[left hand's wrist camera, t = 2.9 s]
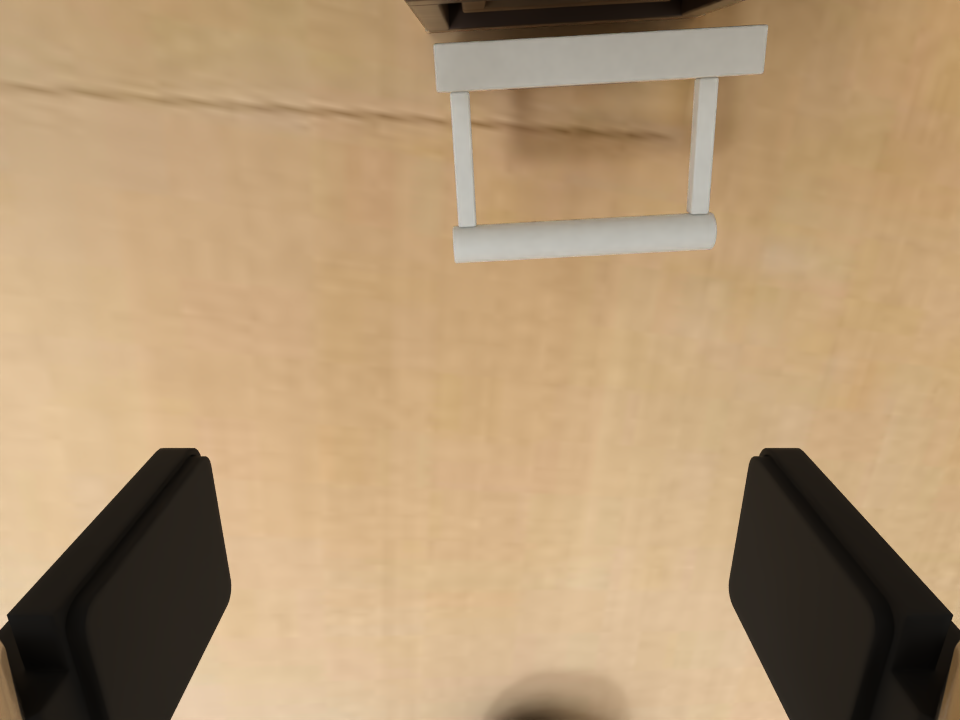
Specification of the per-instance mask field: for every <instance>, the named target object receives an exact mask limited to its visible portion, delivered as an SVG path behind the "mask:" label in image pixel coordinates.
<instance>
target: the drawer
mask: <svg viewBox="0 0 960 720" xmlns="http://www.w3.org/2000/svg"><path fill="white" fill-rule="evenodd" d="M659 1H669V0H496V1H479V2H462V10H463V12H464V13H471V12H488V11H505V10H522V9H539V8H556V7H573V6H590V5H608V4H625V3H642V2H659ZM767 32H768V25H766V24H765V25H747V26H730V27H713V28H696V29H678V30H661V31H644V32H627V33H609V34H592V35H575V36H558V37H540V38H523V39H506V40H489V41H471V42H454V43H437V44H434V45H433V49H434V63H435V77H436V90H437V92H441V93H450V103H451V118H452V134H453V149H454V164H455V180H456V195H457V211H458V225H459V226H454V227H453V247H454V259H455V263H469V262H488V261H506V260H525V259H543V258H561V257H580V256H598V255H617V254H635V253H654V252H672V251H690V250H709V249H712V248H713V247H714V245H715V241H716V236H717V224H716V219H715V216H714V214H713V213H711V212H709V202H710V189H711V176H712V162H713V149H714V136H715V122H716V109H717V95H718V82H719V79H718V77H725V76H739V75H754V74H762V73H763V72H764V63H765V53H766V43H767ZM695 78H696V79H695ZM680 79H695V84H694V100H693V116H692V132H691V148H690V164H689V180H688V196H687V212H688V213H685V214H667V215H649V216H631V217H612V218H594V219H576V220H558V221H539V222H521V223H503V224H485V225H476V205H475V187H474V168H473V150H472V132H471V114H470V95H469V92H470V91H487V90H505V89H508V90H509V89H526V88H544V87H561V86H579V85H596V84H614V83H631V82H645V81H662V80H680Z"/></svg>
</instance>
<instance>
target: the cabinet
mask: <svg viewBox="0 0 960 720" xmlns="http://www.w3.org/2000/svg"><path fill="white" fill-rule="evenodd" d="M479 1H496V0H405V2H406V3H407V5H408V6H409V7H410V9H411V10H412V11H413V13H414V14H415V15H416V17H417V18H418V19H419V21H420V22H421V23H422V25H423V26H424V27H425V31H426V32H427V33H438V32H455V31H472V30H490V29H507V28H524V27H541V26H558V25H576V24H593V23H610V22H627V21H644V20H662V19H679V18H698V17H701V16H704V15H705V14H707V13H710V12H712V11H715V10H718V9H721V8H724V7H727V6H730V5H733V4H736V3H739V2H742V1H745V0H669V1H659V2H642V3H625V4H608V5H590V6H573V7H556V8H539V9H522V10H505V11H488V12H471V13H464V12H463V10H462V2H479Z"/></svg>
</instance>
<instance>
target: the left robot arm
mask: <svg viewBox="0 0 960 720" xmlns="http://www.w3.org/2000/svg"><path fill="white" fill-rule="evenodd" d="M230 594H231V579H230V573H229V567H228V561H227V555H226V549H225V543H224V537H223V532H222V526H221V520H220V514H219V508H218V502H217V496H216V491H215V485H214V479H213V473H212V467H211V463H210V460H209V458H208V457H206V456H201V455H200V453H199V451H198V450H197V449H195V448H160V449H159V450H158V451H156V453H155V454H154V455H153V456H152V457H151V458H150V459H149V460H148V461H147V462H146V464H145V465H144V466H143V467H142V468H141V469H140V470H139V471H138V472H137V473H136V474H135V476H134V477H133V478H132V479H131V480H130V481H129V482H128V483H127V484H126V485H125V486H124V488H123V489H122V490H121V491H120V492H119V493H118V494H117V495H116V496H115V497H114V498H113V500H112V501H111V502H110V503H109V504H108V505H107V506H106V507H105V508H104V509H103V510H102V512H101V513H100V514H99V515H98V516H97V517H96V518H95V519H94V520H93V521H92V523H91V524H90V525H89V526H88V527H87V528H86V529H85V530H84V531H83V532H82V533H81V535H80V536H79V537H78V538H77V539H76V540H75V541H74V542H73V543H72V544H71V545H70V547H69V548H68V549H67V550H66V551H65V552H64V553H63V554H62V555H61V556H60V557H59V559H58V560H57V561H56V562H55V563H54V564H53V565H52V566H51V567H50V568H49V569H48V571H47V572H46V573H45V574H44V575H43V576H42V577H41V578H40V579H39V580H38V582H37V583H36V584H35V585H34V586H33V587H32V588H31V589H30V590H29V591H28V592H27V594H26V595H25V596H24V597H23V598H22V599H21V600H20V601H19V602H18V603H17V604H16V606H15V607H14V608H13V609H12V610H11V611H10V612H9V613H8V614H7V617H8V620H9V621H8V622H7V623H6V624H5V625H4V626H3V628H2V629H1V630H0V720H171V718H172V716H173V714H174V712H175V710H176V708H177V706H178V703H179V701H180V699H181V697H182V695H183V693H184V691H185V689H186V687H187V685H188V683H189V681H190V679H191V677H192V675H193V673H194V671H195V669H196V667H197V665H198V663H199V661H200V659H201V657H202V655H203V653H204V651H205V649H206V647H207V645H208V643H209V641H210V639H211V637H212V635H213V633H214V631H215V629H216V627H217V625H218V623H219V621H220V619H221V617H222V615H223V613H224V611H225V609H226V607H227V605H228V602H229V599H230ZM729 594H730V599H731V602H732V605H733V607H734V609H735V611H736V613H737V615H738V617H739V619H740V621H741V623H742V625H743V627H744V629H745V631H746V633H747V635H748V637H749V639H750V641H751V643H752V645H753V647H754V649H755V651H756V653H757V655H758V657H759V659H760V661H761V663H762V665H763V667H764V669H765V671H766V673H767V675H768V677H769V679H770V681H771V683H772V685H773V687H774V689H775V691H776V693H777V695H778V697H779V699H780V701H781V703H782V706H783V708H784V710H785V712H786V714H787V716H788V718H789V720H960V630H959V629H958V628H957V626H956V625H955V624H954V623H953V622H952V621H951V620H952V617H953V614H952V613H951V612H950V611H949V610H948V609H947V608H946V607H945V606H944V604H943V603H942V602H941V601H940V600H939V599H938V598H937V597H936V596H935V595H934V594H933V592H932V591H931V590H930V589H929V588H928V587H927V586H926V585H925V584H924V583H923V582H922V580H921V579H920V578H919V577H918V576H917V575H916V574H915V573H914V572H913V571H912V569H911V568H910V567H909V566H908V565H907V564H906V563H905V562H904V561H903V560H902V559H901V557H900V556H899V555H898V554H897V553H896V552H895V551H894V550H893V549H892V548H891V547H890V545H889V544H888V543H887V542H886V541H885V540H884V539H883V538H882V537H881V536H880V535H879V533H878V532H877V531H876V530H875V529H874V528H873V527H872V526H871V525H870V524H869V523H868V521H867V520H866V519H865V518H864V517H863V516H862V515H861V514H860V513H859V512H858V510H857V509H856V508H855V507H854V506H853V505H852V504H851V503H850V502H849V501H848V500H847V498H846V497H845V496H844V495H843V494H842V493H841V492H840V491H839V490H838V489H837V488H836V486H835V485H834V484H833V483H832V482H831V481H830V480H829V479H828V478H827V477H826V476H825V474H824V473H823V472H822V471H821V470H820V469H819V468H818V467H817V466H816V465H815V464H814V462H813V461H812V460H811V459H810V458H809V457H808V456H807V455H806V454H805V453H804V451H802V450H801V449H800V448H765V449H763V450H762V451H761V453H760V455H759V456H754V457H752V458H751V460H750V463H749V467H748V473H747V479H746V485H745V491H744V496H743V502H742V508H741V514H740V520H739V526H738V532H737V538H736V543H735V549H734V555H733V561H732V567H731V573H730V579H729Z"/></svg>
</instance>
